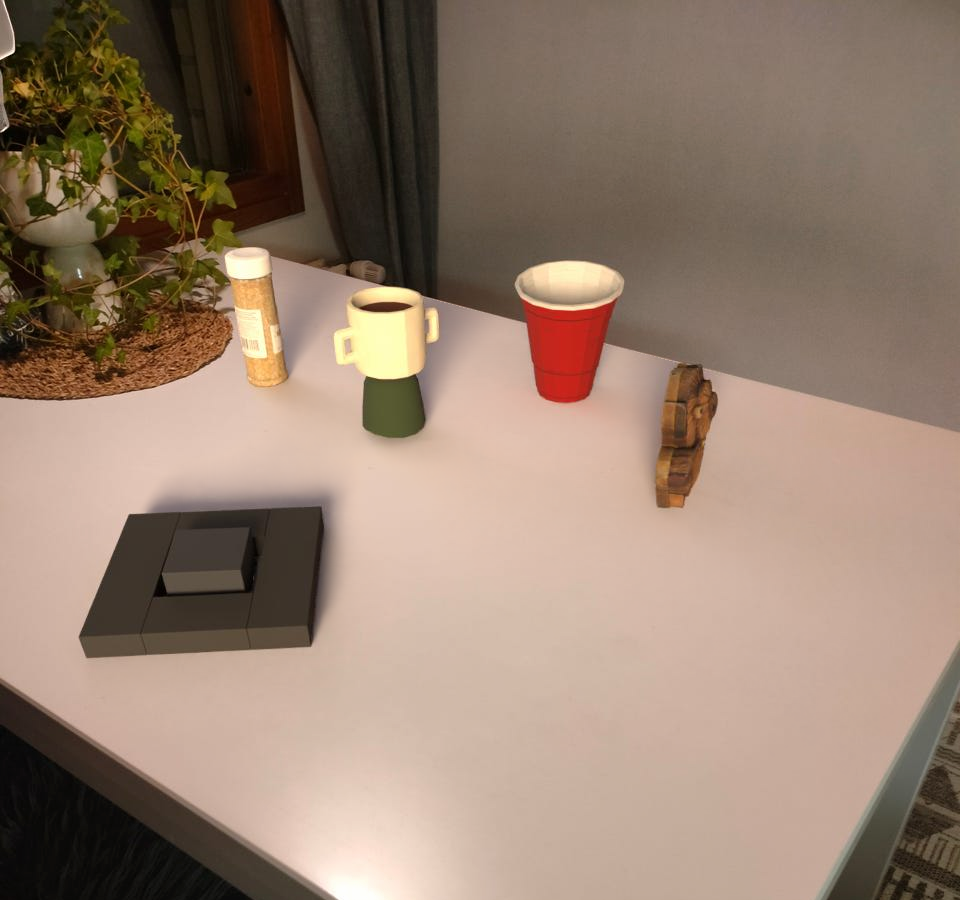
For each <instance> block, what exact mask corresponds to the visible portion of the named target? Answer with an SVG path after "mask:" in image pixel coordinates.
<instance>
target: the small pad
mask: <svg viewBox="0 0 960 900" xmlns="http://www.w3.org/2000/svg"><path fill="white" fill-rule="evenodd" d="M257 565H258V558H257V557H256V554H255V549H254V544H253V539H252V534H251V529H250V527H243V528H218V529H194V530H176V532H175V535H174V538H173V541H172V544H171V547H170V550H169V553H168V556H167V559H166V562H165V565H164V568H163V571H162V576H163V580H164V583H165V587H166V591H167V593H166V595H167V597H171V596H193V595H214V594H236V593H253V592H252V590H253V586H254V582H255V577H256V571H257Z"/></svg>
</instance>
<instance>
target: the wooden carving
mask: <svg viewBox="0 0 960 900" xmlns="http://www.w3.org/2000/svg"><path fill="white" fill-rule="evenodd" d="M704 376H705V375H704V368H703V365H702V364H701V363H699V364H698V363H697V364H687V363H686V362H678V363H677V365H676V367H674V368H673V369H672V370H671V371H670V373H669V377H668V380H667V383H666V384H667V385H666V391H665V395H664V401H663V403H662V409H661V419H660V423H661V424H660V433H661V446H660V449H659V452H658V456H657V459H656V466H655V473H654V485H655V486H654V488H655V489H654V490H655V499H656V500H655V502H656V507H657V509H670V508H680V509H683V508H684V506H685V501H686V497H689V496H690V494H691V491H692V489H693V487H694V486H695V484H696V482H697V480H698V478H699V475H700V471H701V467H702V463H703V462H702V461H703V458H704V451H705V446H706V440H707V435H708V434H709V432H710V430H711V425H712V422H713V419H714V417H715V416H716V414H717V409H718V404H719V398H718V394H717V391H713V382H712V380H711V379H709V378H708V379H706V378H705V377H704Z"/></svg>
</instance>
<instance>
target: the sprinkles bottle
mask: <svg viewBox="0 0 960 900" xmlns="http://www.w3.org/2000/svg"><path fill="white" fill-rule="evenodd" d="M224 262H225V269H226V274H227V275H228V279H229V280H230V287H231V293H232V298H233V306H234V313H235V318H236V324H237V329H238V335H239V340H240V345H241V350H242V353H243V357H244V363H245V368H246V372H247V373H246V379H247V381H248V383H250V384H252V385H254V386H259V387H271V386H276V385H280V384H281V383H283V382H285V381H286V380H287V379H288V377H289V371H288V368H287V365H286V358H285V353H284V352H285V351H284V343H283V336H282V331H281V324H280V317H279V312H278V306H277V303H276V298H275V296H276V295H275V291H274V290H275V288H274V283H273V277H272V275H273V261H272V258H271V253H270V251H269V250H267V249H265V248H263V247H256V246H250V247H249V246H246V247H239V248H234V249H231V250H230V251H228V252H227V253H225V255H224Z"/></svg>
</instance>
